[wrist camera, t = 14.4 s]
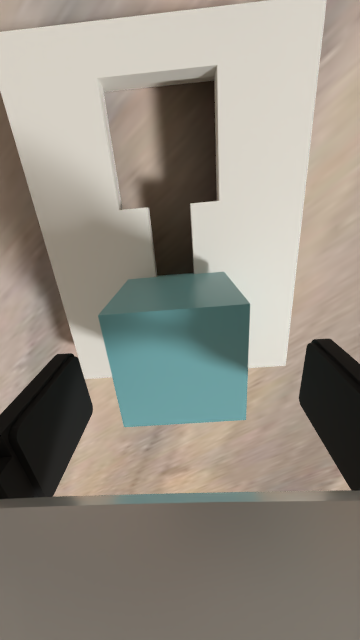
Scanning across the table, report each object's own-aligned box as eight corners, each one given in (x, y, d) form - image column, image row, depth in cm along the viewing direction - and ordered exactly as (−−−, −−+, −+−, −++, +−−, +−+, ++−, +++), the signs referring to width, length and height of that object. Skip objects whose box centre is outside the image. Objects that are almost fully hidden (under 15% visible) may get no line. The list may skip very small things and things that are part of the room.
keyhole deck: (289, 50, 14) (326, -7, 11) (268, 341, 22) (285, 365, 19) (32, 79, 15) (-17, 33, 11) (100, 352, 23) (84, 379, 19)
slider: (213, 258, 19) (250, 303, 9) (215, 325, 22) (245, 419, 12) (140, 264, 20) (97, 315, 9) (149, 330, 22) (124, 427, 12)
